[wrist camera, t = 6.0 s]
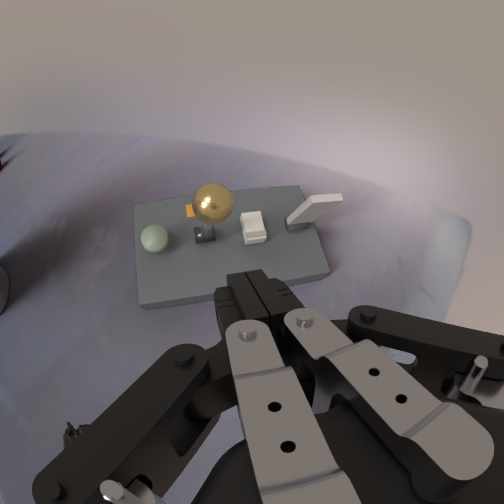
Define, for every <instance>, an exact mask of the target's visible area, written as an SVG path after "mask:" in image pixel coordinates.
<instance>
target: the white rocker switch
mask: <svg viewBox="0 0 504 504" xmlns="http://www.w3.org/2000/svg"><path fill="white" fill-rule="evenodd" d="M240 221H241V226H242V231H243V236H244V241H245V245H248V244H255V243H262V242H264V241H265V240H266V238H267V237H266V235H267V234H266V230H265V228H264V224H263V220H262V216H261V211H255V212H247V213H241V216H240Z"/></svg>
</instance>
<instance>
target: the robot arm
mask: <svg viewBox="0 0 504 504" xmlns="http://www.w3.org/2000/svg"><path fill="white" fill-rule="evenodd" d="M226 280H227V286H224V287H218V288H216V290H215V292H214V294H213V296H214V303H215V310H216V316H217V323H218V327H219V331H220V334H221V338H222V340H221V341H220V342H219V343H218V344H217V345H215V346H213V347H211V348H209V349H207V350H205V349H203V348H202V347H200V346H198V345H195V344H181V345H177V346H174V347H172V348H170V349H169V350H167V351H166V352H165V353H164V354H163V355H162V356H161V357H160V358H159V359H158V360H157V361H156V362H155V363H154V364H153V365H152V366H151V367H150V368H149V369H148V370H147V371H146V372H145V373H144V374H142V375H141V376H140V377H139V378H138V379H137V380H136V381H135V382H134V383H133V384H132V385H131V386H130V387H129V388H128V389H127V390H126V391H125V392H124V393H123V394H122V395H121V396H120V397H119V398H118V399H117V400H116V401H115V402H114V403H112V404H111V405H110V406H109V407H108V408H107V409H106V410H105V411H104V412H103V413H102V414H101V415H100V416H99V417H98V418H97V419H96V420H95V421H94V422H93V423H92V424H91V425H89V426H88V427H87V428H86V429H85V430H84V431H83V432H82V433H81V434H80V435H79V436H78V437H77V438H76V439H75V440H74V441H73V442H72V443H71V444H69V445H68V446H67V447H66V448H65V449H64V450H63V451H62V452H61V453H60V454H59V455H58V456H57V457H56V458H55V459H53V460H52V461H51V462H50V463H49V464H48V465H47V466H46V467H45V468H44V469H43V470H42V471H41V472H39V473H38V475H37V476H36V477H35V479H34V481H33V485H32V494H33V498H34V500H35V502H36V504H166V503H165V502H164V501H163V500H162V499H161V498H162V497H163V496H164V495H165V493H166V492H167V491H168V490H169V488H170V487H171V486H172V484H173V483H174V482H175V480H176V479H177V478H178V476H179V475H180V474H181V472H182V471H183V470H184V468H185V467H186V466H187V464H188V463H189V462H190V460H191V459H192V457H193V456H194V455H195V453H196V452H197V450H198V449H199V448H200V446H201V445H202V443H203V442H204V441H205V439H206V438H207V436H208V435H209V433H210V432H211V430H212V429H213V427H214V426H215V425H216V423H217V422H218V420H219V418H220V415H221V412H223V411H225V410H227V409H229V408H231V407H233V406H235V405H237V408H238V413H239V418H240V423H241V428H242V432H243V437H244V440H242V441H240V442H239V443H237V444H235V445H234V446H233V447H232V448H230V449H229V450H228V451H227V452H226V453H225V454H224V455H222V457H221V458H220V459H219V460H218V461H217V463H216V464H215V466H214V467H213V469H212V471H211V472H210V474H209V476H208V477H207V479H206V480H205V482H204V484H203V485H202V487H201V488H200V490H199V492H198V493H197V495H196V496H195V498H194V499H193V501H192V503H191V504H504V336H503V335H497V334H492V333H488V332H483V331H478V330H474V329H469V328H464V327H460V326H455V325H451V324H447V323H442V322H438V321H433V320H429V319H425V318H420V317H416V316H412V315H408V314H403V313H399V312H395V311H391V310H387V309H383V308H378V307H374V306H369V305H362V306H357V307H354V308H353V309H351V310H350V312H349V316H348V319H345V320H329V319H328V318H326V317H325V316H324V315H323V314H322V313H321V312H319V311H317V310H314V309H310V308H305V307H304V306H303V304H302V303H301V302H300V301H299V300H298V298H297V297H296V296H295V295H294V294H293V292H292V291H291V290H290V289H289V288H288V286H287V285H286V284H285V283H284V282H283V281H281V280H279V279H277V278H270V279H269V278H268V277H267V276H266V274H265V273H264V272H263V270H262V269H257V270H251V271H245V272H239V273H233V274H227V275H226ZM8 294H9V279H8V275H7V273H6V271H5V270H4V268H2V267H1V266H0V313H1V312H2V311H3V309H4V307H5V305H6V302H7V299H8ZM381 345H382V346H385V347H389V348H393V349H397V350H400V351H404V352H408V353H412V354H414V355H415V356H416V359H415V361H414V362H413V363H411V364H402V363H399V362H395V361H394V360H393V359H392V358H391V357H389V356H388V355H387V354H386V353H385V352H384V351H383V350H381V349H380V346H381Z"/></svg>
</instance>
